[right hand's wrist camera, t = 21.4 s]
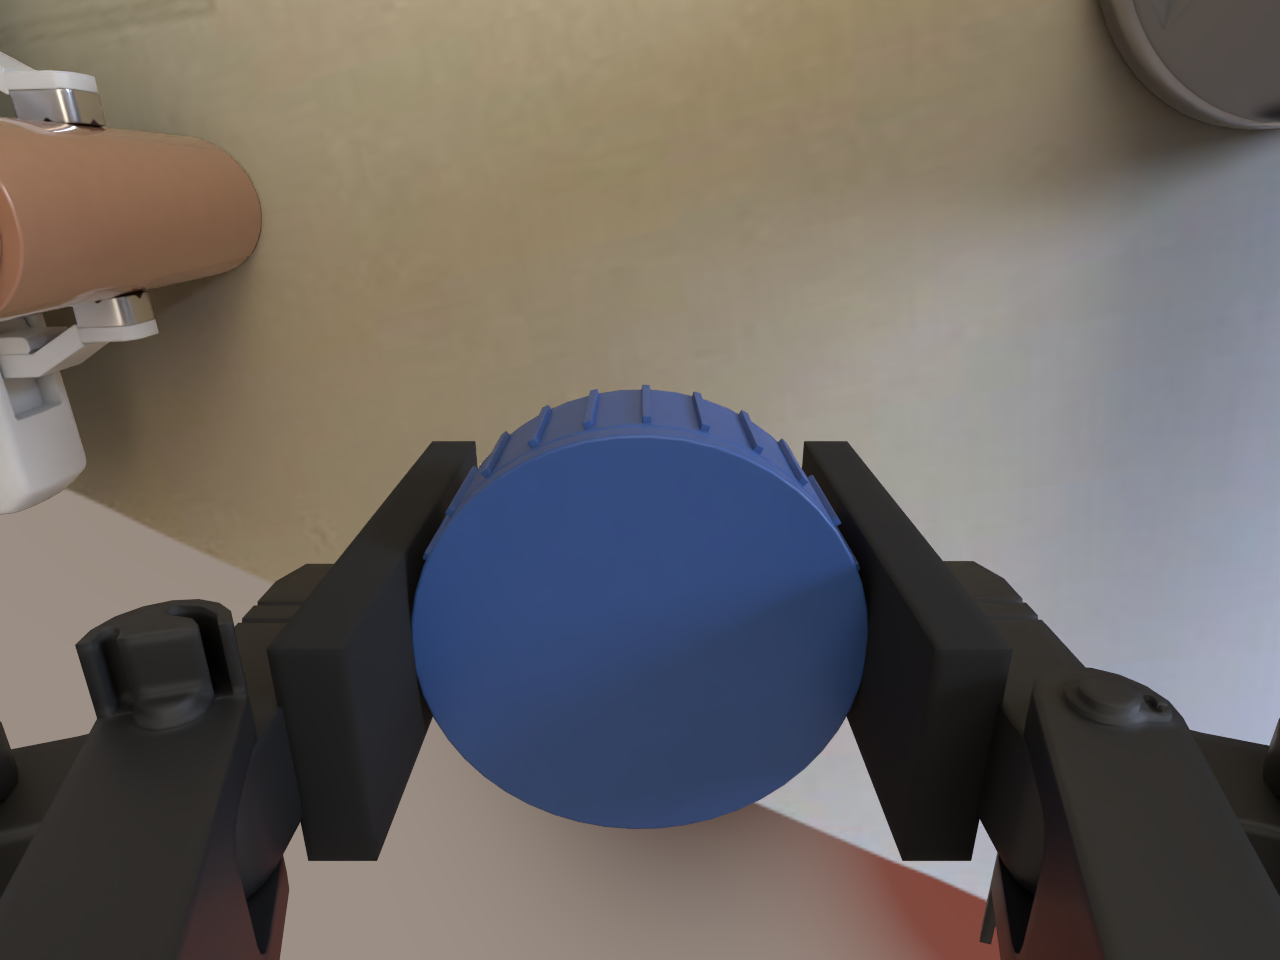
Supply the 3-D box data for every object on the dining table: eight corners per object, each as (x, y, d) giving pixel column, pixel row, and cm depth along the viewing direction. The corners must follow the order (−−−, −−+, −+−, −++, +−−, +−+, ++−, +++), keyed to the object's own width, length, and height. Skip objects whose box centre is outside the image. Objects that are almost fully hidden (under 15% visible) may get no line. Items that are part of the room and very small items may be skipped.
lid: (408, 403, 11) (355, 452, 9) (835, 364, 11) (880, 407, 9) (479, 745, 13) (449, 848, 11) (836, 717, 13) (873, 817, 11)
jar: (267, 280, 33) (-17, 355, 18) (137, 269, 32) (-251, 337, 18) (255, 141, 31) (-71, 106, 17) (117, 129, 31) (-333, 83, 16)
